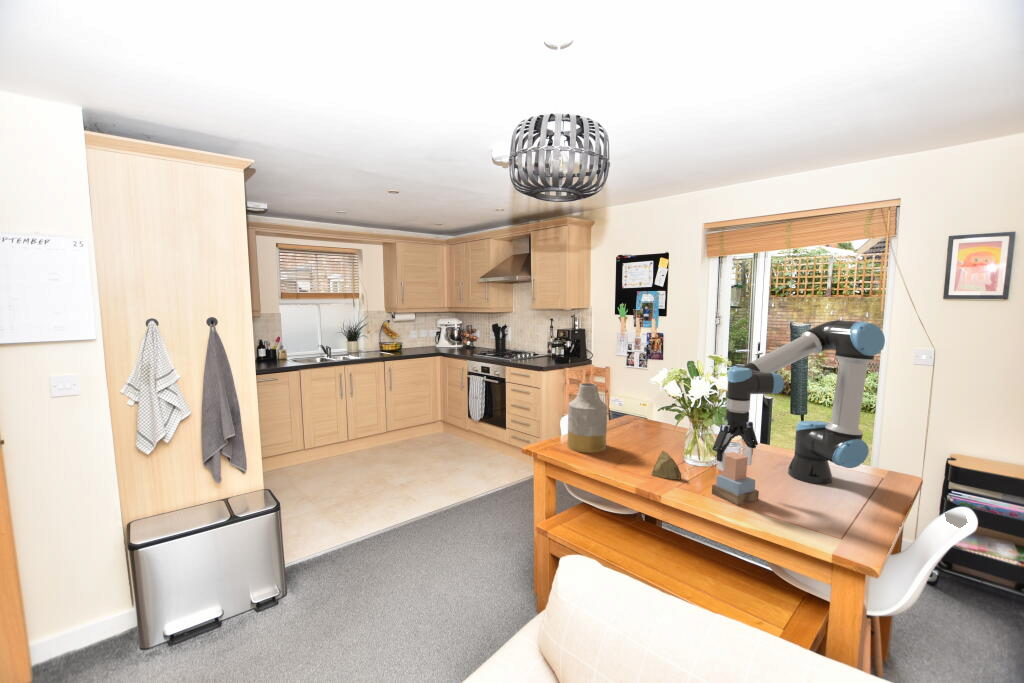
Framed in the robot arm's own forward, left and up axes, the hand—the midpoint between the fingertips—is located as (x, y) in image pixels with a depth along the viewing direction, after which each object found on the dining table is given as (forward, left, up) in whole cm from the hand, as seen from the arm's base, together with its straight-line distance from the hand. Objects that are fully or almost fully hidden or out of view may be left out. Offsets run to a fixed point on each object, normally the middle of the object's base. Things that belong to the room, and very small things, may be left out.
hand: (734, 466), depth 171 cm
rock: (+10, -23, -11) cm, 28 cm away
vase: (+20, -67, -11) cm, 71 cm away
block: (0, 0, -3) cm, 4 cm away
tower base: (0, +1, -12) cm, 12 cm away
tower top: (0, +1, -8) cm, 8 cm away
